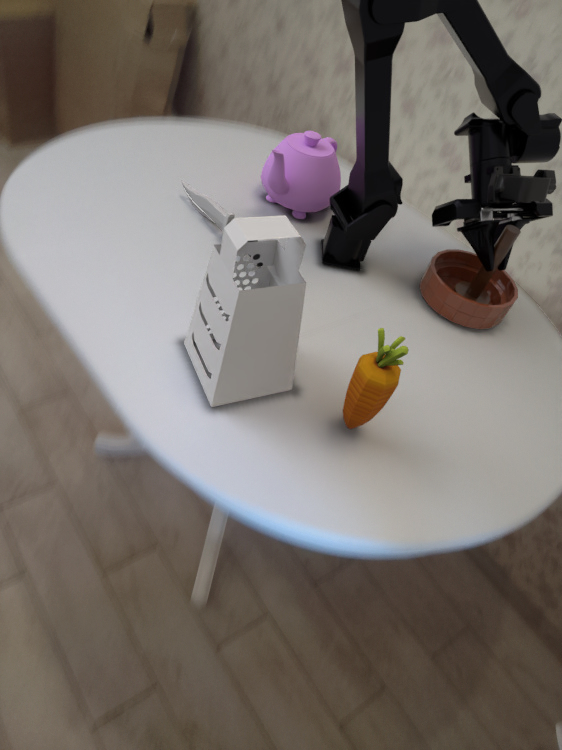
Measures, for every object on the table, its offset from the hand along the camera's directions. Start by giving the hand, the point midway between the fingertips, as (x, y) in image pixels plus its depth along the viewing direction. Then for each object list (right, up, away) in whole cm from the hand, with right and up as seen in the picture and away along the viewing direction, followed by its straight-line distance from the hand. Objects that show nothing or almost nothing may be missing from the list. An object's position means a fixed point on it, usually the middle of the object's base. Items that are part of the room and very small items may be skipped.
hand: (495, 270), depth 77 cm
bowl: (-3, -4, +6) cm, 8 cm away
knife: (-42, +7, +5) cm, 43 cm away
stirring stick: (-2, -3, +6) cm, 7 cm away
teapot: (-30, +15, +16) cm, 37 cm away
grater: (-38, -15, -13) cm, 43 cm away
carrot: (-24, -22, -16) cm, 37 cm away
